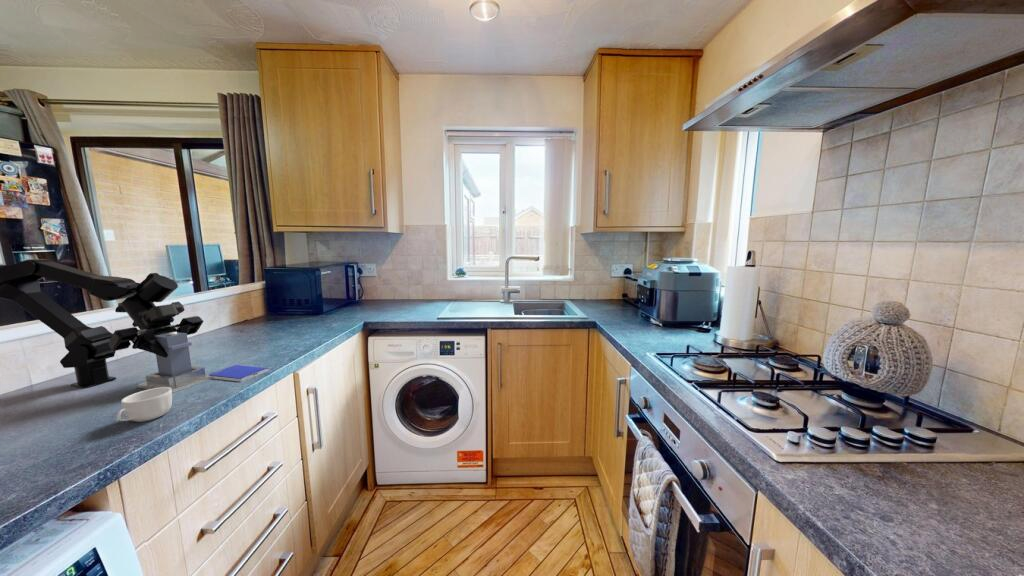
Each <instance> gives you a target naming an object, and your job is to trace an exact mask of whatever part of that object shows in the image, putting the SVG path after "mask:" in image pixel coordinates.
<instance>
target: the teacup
mask: <svg viewBox="0 0 1024 576" xmlns="http://www.w3.org/2000/svg"><path fill="white" fill-rule="evenodd" d="M120 403H121V405H122V408H121V409H119V410H118V412H117V413H116V419H117V421H121V422H124V421H125V422H126V421H133V422H139V423H142V422H148V421H153V420H156V419H158V418H160V417H162V416H164V415H165V414H166V413H168V412H169V411H170V410H171V407H172V405H173V393H172V389H171V388H170V387H160V388H153V389H145V390H141V391H138V392H135V393H132V394H129V395H127V396H126V397H125V396H124V397H123V398H122V399H121V402H120ZM122 413H124V415H125V416H126V418H122V416H121V415H122Z"/></svg>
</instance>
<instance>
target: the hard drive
mask: <svg viewBox="0 0 1024 576" xmlns="http://www.w3.org/2000/svg"><path fill="white" fill-rule="evenodd" d="M268 372H269V368H268V367H260V366H251V365H241V364H234V365H232V366H231V365H230V366H228V367H226V368H222V369H219V370H217V371H214V372H211V373H209V374H208V375H210V376H213V377H214V379H215V380H225V381H231V382H232V381H233V382H244V381H247V380H249V379H252V378H254V377H256V376H259V375H262V374H264V373H268ZM214 379H213V380H214Z"/></svg>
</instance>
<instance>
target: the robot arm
mask: <svg viewBox="0 0 1024 576" xmlns="http://www.w3.org/2000/svg"><path fill="white" fill-rule="evenodd" d="M44 278H45V279H49V280H52V281H55V282H58V283H62V284H65V285H70V286H74V287H76V288H80V289H83V290H85V291H87V292H88V293H89V294H90V295H91V296H93V297H96V298H98V299H100V300H102V301H106V302H110V301H118V300H123V301H122V302H118V305H117V307H116V308H115V310H114V311H115V313H126V314H127V315H128V316H129V317H130V319H131V320H132V321H133V322H132V327H127V328H122V329H116V330H114V332H113V333H112V332H110V330H108V329H107V328H106V327H105V326H103V325H101V326H96V327H91V326H88V325H86V324H85V323H84V322H82V321H81V320H80V319H78V318H77V317H76V316H74V315H73V314H72V313H70V312H69V311H68V310H66V309H65V308H63V306H61V305H59V304H58V303H57V302H56V301H54V300H53V299H52V298H50V297H49V296H48V295H47V294H45V293H44V292H42V291H41V287H40V286H41V284H40V282H39V281H40V280H43V279H44ZM177 288H179V285H178V283H177V282H176V280H174V279H172V278H170V277H167V276H165V275H162V274H161V275H160V274H159V273H158V272H151V273H149V274H147V276H146V277H145V279H142V281H141V282H136V280H133V279H132V278H129V277H128V278H127V277H121V276H110V275H100V274H97V273H92V272H90V271H86V270H82V269H79V268H76V267H72V266H69V265H65V264H62V263H59V262H56V261H53V260H52V259H48V258H36V259H25V260H22V261H19V262H16V263H14V264H9V265H5V266H1V267H0V298H1V299H2V300H3V299H4V300H8V301H11V302H13V303H15V304H17V305H18V306H20V307H21V308H22V309H24V310H25V311H26V312H28V313H29V314H31V315H32V316H33V317H35V318H36V319H37V320H39V321H40V322H41V323H43V324H44V325H45V326H47V327H48V328H50V329H51V330H53V331H54V332H55V333H56V334H58V335H59V336H60V337H62V338H63V342H64V347H65V349H66V350H67V351H68V352H67V353H66V354H65V356H63V357H62V358H61V359H60V361H59V363H60V365H61V366H62V367H63V368H64V369H68V368H69V369H70V368H74V374H75V379H76V382H72V383H71V384H70V387H75V388H82V389H87V388H90V387H92V386H97V385H100V384H103V383H106V382H111V381H114V380H116V379H117V377H114V376H110V375H109V370H108V363H107V360H108V359H110V358H115V356H116V351H121V350H126V349H128V348H129V347H130V346H131V344H133V345H132V346H131V348H132V349H133V350H142V351H145V352H149V353H151V354H154V355H155V356H156V355H159V356H162V357H164V358H166V357H167V356H168V354H167V352H166V351H165V349H164V348H163V347H162V346H161V345H160V344H159V342H158V341H157V340H156V338H155V336H157V335H162V334H166V333H171V332H178V333H187V336H189V335H193V334H196V333H197V332H198V331H199V330H200V327H201V326H202V325H203V323H204V320H203V318H201V317H200V316H199V315H196V316H188V317H183V318H182V319H181V321H180V322H179V323H177V324H176V323H175V324H171V323H174V321H175V317H176V316H179V315H180V314H181V313H183V312H184V311H185V307H184V305H183V304H182V303H181V302H180V301H173V302H171V303H170V304H169V303H168V304H163V305H156V304H155V303H162V302H163V301H164V300H166V299H167V298H168V297H169V296H170V295H171V294H172V293H173V292H175V291H176V290H177Z"/></svg>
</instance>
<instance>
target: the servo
mask: <svg viewBox="0 0 1024 576" xmlns="http://www.w3.org/2000/svg"><path fill="white" fill-rule="evenodd" d="M155 338H156V340H157V341H158V342H159V344H160V345H161V346H162V347H163V348H164V349H165V351H166V352H167V354H168V356H167V357H166V358H164V357H162V356H159V355H156V354H155V357H156V364H157V370H158V371H157V372H159V375H162V376H169V377H173V376H176V375H180V374H183V373H186V372H189V371H192V368H191V366H192V361H191V354H190V347H191V346H193V344H192V343H193V342H189V341H188V335H187V333H178V332H171V333H166V334H162V335H157V336H155Z"/></svg>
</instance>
